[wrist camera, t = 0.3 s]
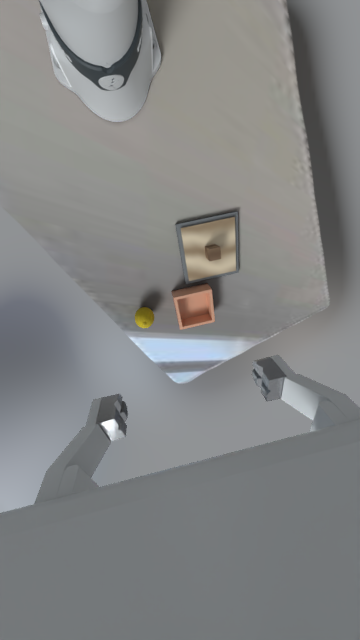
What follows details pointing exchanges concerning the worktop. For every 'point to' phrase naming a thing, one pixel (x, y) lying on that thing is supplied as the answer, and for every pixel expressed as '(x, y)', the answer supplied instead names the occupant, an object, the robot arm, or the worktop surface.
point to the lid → (210, 248)
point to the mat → (200, 221)
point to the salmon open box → (194, 306)
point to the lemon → (144, 317)
